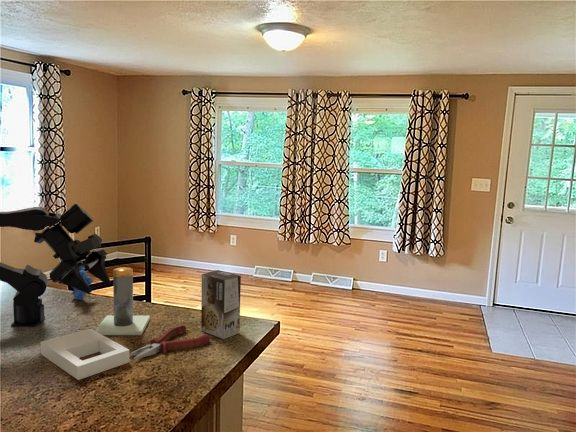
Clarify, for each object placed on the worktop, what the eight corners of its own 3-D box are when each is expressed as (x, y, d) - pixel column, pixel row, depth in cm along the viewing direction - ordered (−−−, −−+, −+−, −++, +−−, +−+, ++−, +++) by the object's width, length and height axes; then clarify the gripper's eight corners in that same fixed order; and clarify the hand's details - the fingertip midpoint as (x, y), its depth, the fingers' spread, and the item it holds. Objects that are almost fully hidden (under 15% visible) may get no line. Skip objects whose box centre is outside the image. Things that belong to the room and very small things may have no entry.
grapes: (98, 303, 147) (98, 265, 146) (75, 306, 143) (74, 268, 142) (88, 293, 156) (88, 258, 155) (66, 296, 152) (66, 260, 151)
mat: (94, 335, 123) (94, 331, 122) (106, 318, 134) (106, 315, 134) (141, 335, 124) (141, 331, 124) (150, 318, 136) (150, 315, 136)
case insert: (41, 354, 110) (40, 341, 110) (90, 339, 119) (90, 328, 119) (78, 380, 99) (77, 366, 99) (129, 362, 108) (129, 349, 108)
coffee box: (240, 333, 128) (242, 275, 126) (223, 339, 123) (224, 279, 121) (217, 324, 134) (218, 269, 131) (199, 330, 129) (200, 273, 126)
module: (117, 327, 126) (116, 272, 124) (111, 321, 130) (110, 268, 128) (135, 324, 129) (135, 270, 127) (129, 318, 133) (129, 266, 131)
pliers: (116, 354, 113) (116, 344, 112) (182, 332, 128) (182, 322, 128) (145, 370, 106) (145, 359, 105) (211, 344, 122) (211, 334, 121)
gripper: (59, 231, 118) (100, 278, 118) (101, 221, 136) (136, 261, 136) (32, 259, 120) (71, 305, 120) (76, 245, 139) (111, 285, 138)
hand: (100, 287), depth 129 cm, fingers open, 9 cm apart
